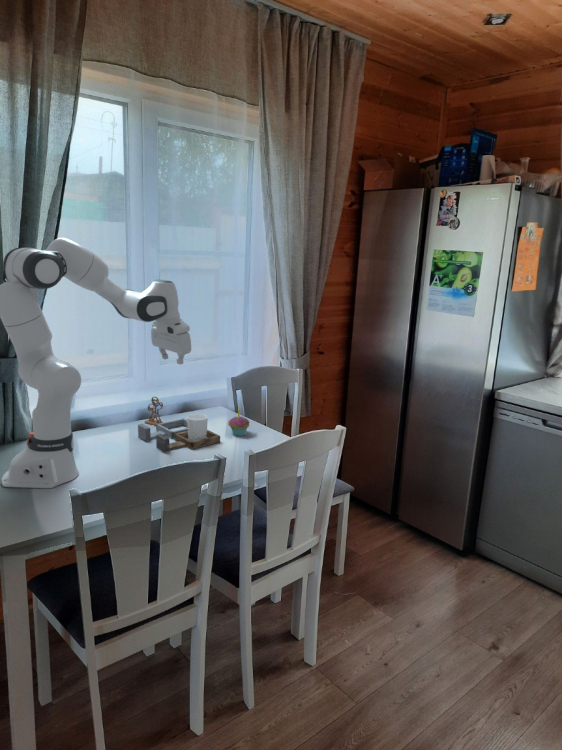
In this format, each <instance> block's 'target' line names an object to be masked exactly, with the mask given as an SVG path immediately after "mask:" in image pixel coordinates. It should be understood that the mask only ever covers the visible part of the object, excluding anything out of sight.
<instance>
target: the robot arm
mask: <svg viewBox="0 0 562 750" xmlns="http://www.w3.org/2000/svg"><path fill="white" fill-rule="evenodd" d="M2 263H3V264H2V266H3V267H2V269H3V271H2V280H3V281H4V282H3V283H1V284H0V320H1V322H2V324H3V326H4V328H5V331H6V333H7V335H8V338H9V340H10V342H11V343H12V345H13V348H14V351H15V354H16V359H17V362H18V367H17V374H18V376H19V377H20V379H21V380H22V381H23V382H24V383H25V384H26V385H27V386H29V387H30V388H33V389H34V390H37V394H38V398H37V403H36V406H35V408H34V409H33V410H32V414H31V417H32V431H31V432H29V433H28V435H27V438H26V446H27V447H25V448H24V449H22V450H21V451H20V452H19V453H17V454H16V455H15V456H14V457H13V458H12V460H11V461H10V464H9V469H8V470H7V471H6V472H5V473H4V474H3V476H2V477H1V485H2V487H5V488H23V489H27V488H29V489H30V488H31V489H32V488H33V489H53V488H55V487H57V486H59V485H62V484H65V483H69V482H70V481H72V480H75V479H76V478H77V477H78V476H79V469H78V467H77V464H76V460H75V456H74V447H75V445H74V440H75V439H74V434H73V431H72V423H71V421H72V419H71V415H72V414H71V410H72V403H73V400H74V396H75V394H76V393H77V392H78V391H79V390H80V388H81V385H82V376H81V373H80V372H79V369H77V368H75V367H74V366H73V365H71V363H69V362H68V361H65V360H62V359H59V358H57V357H56V356H55V354H54V351H53V348H52V339H53V334H52V331H51V328H50V327H49V323H48V322H47V320H46V318H45V315H44V313H43V310H42V308H41V306H40V304H39V302H38V298H37V297H38V296H37V292H38V290H46V289H51V288H53V287H55V286H56V285H57V284H59V283H60V281H61V280H62V279H63V277H64V278H66V279H67V280H68V281H70V282H72V283H73V284H75V285H77V286H79V287H81V288H82V289H85V290H88V291H90V292H94V293H96V294H97V295H98V296H100V297H102V298H103V299H105V300H106V301H108V302H109V303H110V304H111V305H112V306H113V308H114V309H115V310H116V312H117V313H118V315H120V316H121V317H122V318H124V319H132V320H136V321H138V322H139V321H140V322H145V323H150V322H152V324H151V329H150V335H151V337H150V339H151V344H152V345H153V346H154V347H156V348H158V350H159V352H160V354H161V358H162V360H168V359H169V354H168V353H167V351H168V352H172V353H176V354H177V356H178V357H177V359H176V364H178V365H183V364H184V359H185V355H188V354H190V353H191V352H192V339H191V335H190V333H189V332H190V330H191V328H190V325H189V324H187V323H186V322H185V321H184V320H183V319H182V318H181V314H180V312H179V295H178V290H177V288H176V287H177V286H176V284H175V283H174V281H172V280H167V279H155V280H152V282H151V284H150V285H149V286H148V287H147V288H146V289H145V290H142V291H141V292H140V291H135V290H132V289H127V288H122V287H121V286H119V285H118V284H117V283H115V282H114V281H112V280H111V279H110V278H108V277H109V267H108V264H107V263H106V262H105V261H104V260H103V259H102V258H101V257H99V256H98V255H97V254H95V253H94V252H93V251H91V250H90V249H88V248H86V247H84V246H83V245H82V244H80V243H77V242H75V241H73V240H71V239H68V238H67V237H58V238H56V239H53V240H52V241H51V242H50V243H49V244H48V245H47V248H46V249H38V248H33V247H24V246H23V247H17V248H13V249H11V250H9V251H8V252H7V253H6V254H5V256H4V257H3V262H2Z"/></svg>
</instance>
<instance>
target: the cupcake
mask: <svg viewBox="0 0 562 750" xmlns="http://www.w3.org/2000/svg"><path fill="white" fill-rule="evenodd" d="M240 414H241V413H240V407H238V409H237V416H234V417H232V418H230V419H229V420H228V424H227V425H228V426H229V427H230V428H231V430H232V435H233V436H235V435H236V436H237V437H242V436H243V437H244V436H245V435H246V432H247V429H248V428H249V427H250V421H249V419H247V418H245V417H244V416H241V415H240Z"/></svg>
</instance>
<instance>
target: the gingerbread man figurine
mask: <svg viewBox="0 0 562 750" xmlns="http://www.w3.org/2000/svg"><path fill="white" fill-rule="evenodd" d="M150 401H151V403H149V404H148V406H147V411H148V412H151V415H150V417H149V419H147V420H145V421H144V425H149V426H152V425H154V426H153V427H156V424H159V423H164V422H163V421H162V418H161V417H160V414H159V411H161V410H162V409H163V407H164V403H163V402H161V401H160V400H159V397H157V396H152V397H151V400H150ZM151 405H153V406H152V407H151ZM158 407H160V408H158ZM154 414H155V415H154ZM152 416H153V417H152Z"/></svg>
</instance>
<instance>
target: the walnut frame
mask: <svg viewBox="0 0 562 750" xmlns="http://www.w3.org/2000/svg"><path fill="white" fill-rule="evenodd" d="M173 439H174V441H175V442H170V437H168V436H164V435H162V434H158V435H156V438H155V440H156V443H155V444H156V449H158V450H160V451H162V452H163V453H168V452H170V451H171V450H175V449H179V448H183V447H184V448H185V447H187V448H189V449H190V450H193V449H198V448H202V447H206V446H209V445H214V444H218V443H220V442H221V435H220V434H217V433H215V432H213V431H211V430H209V429H207V435H206V438H205V439H201V440H197V441H193V442H192V441H190V440H188V431H185V432H180V433H176V434H174V438H173Z"/></svg>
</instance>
